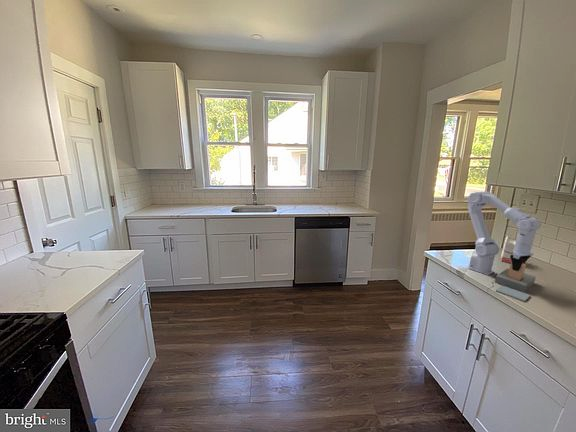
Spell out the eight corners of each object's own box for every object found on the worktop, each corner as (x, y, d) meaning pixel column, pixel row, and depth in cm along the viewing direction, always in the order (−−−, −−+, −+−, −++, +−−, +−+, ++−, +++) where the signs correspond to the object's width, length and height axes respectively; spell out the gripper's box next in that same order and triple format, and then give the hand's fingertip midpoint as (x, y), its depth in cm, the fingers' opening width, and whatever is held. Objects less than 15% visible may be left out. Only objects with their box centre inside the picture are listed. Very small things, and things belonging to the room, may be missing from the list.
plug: (507, 277, 120) (511, 262, 118) (510, 275, 122) (514, 260, 120) (519, 281, 116) (523, 266, 114) (522, 279, 119) (526, 263, 117)
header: (494, 282, 121) (496, 275, 120) (505, 274, 130) (507, 268, 129) (524, 292, 112) (525, 285, 112) (534, 283, 121) (535, 276, 120)
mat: (495, 291, 113) (496, 290, 113) (502, 286, 117) (502, 285, 117) (524, 301, 105) (524, 300, 105) (530, 296, 109) (530, 295, 109)
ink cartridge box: (512, 263, 143) (518, 240, 140) (501, 261, 146) (506, 238, 143) (511, 259, 150) (516, 236, 146) (500, 257, 153) (506, 234, 149)
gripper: (531, 248, 108) (523, 276, 111) (540, 242, 115) (532, 268, 119) (510, 243, 113) (503, 270, 117) (520, 238, 121) (513, 263, 124)
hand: (517, 269), depth 118 cm, fingers closed on plug, 4 cm apart
